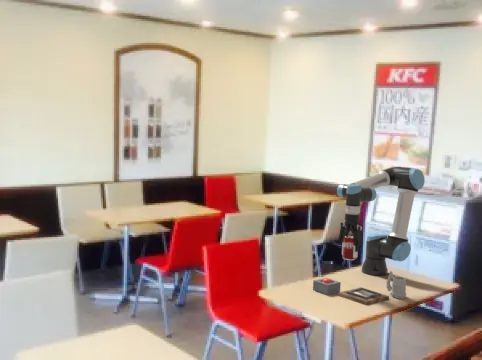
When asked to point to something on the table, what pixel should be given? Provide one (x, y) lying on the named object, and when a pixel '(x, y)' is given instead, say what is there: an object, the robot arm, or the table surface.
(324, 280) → the button
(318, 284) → the button housing
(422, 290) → the table surface
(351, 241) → the soda can
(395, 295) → the mug
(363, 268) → the robot arm
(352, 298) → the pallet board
